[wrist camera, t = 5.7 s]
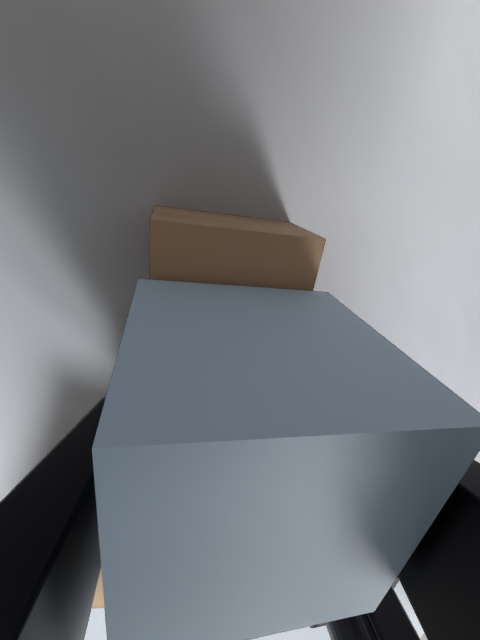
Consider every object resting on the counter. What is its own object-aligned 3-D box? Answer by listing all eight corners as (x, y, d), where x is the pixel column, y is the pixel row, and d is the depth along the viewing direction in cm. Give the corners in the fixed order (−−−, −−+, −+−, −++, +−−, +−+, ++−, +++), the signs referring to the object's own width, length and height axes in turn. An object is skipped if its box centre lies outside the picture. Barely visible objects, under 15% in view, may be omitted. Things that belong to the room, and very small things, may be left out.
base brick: (251, 402, 14) (270, 456, 11) (150, 405, 13) (146, 466, 10) (287, 221, 11) (325, 239, 8) (155, 204, 10) (150, 219, 7)
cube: (289, 427, 11) (374, 611, 6) (137, 434, 9) (109, 671, 5) (327, 292, 8) (496, 425, 4) (138, 278, 7) (92, 449, 3)
